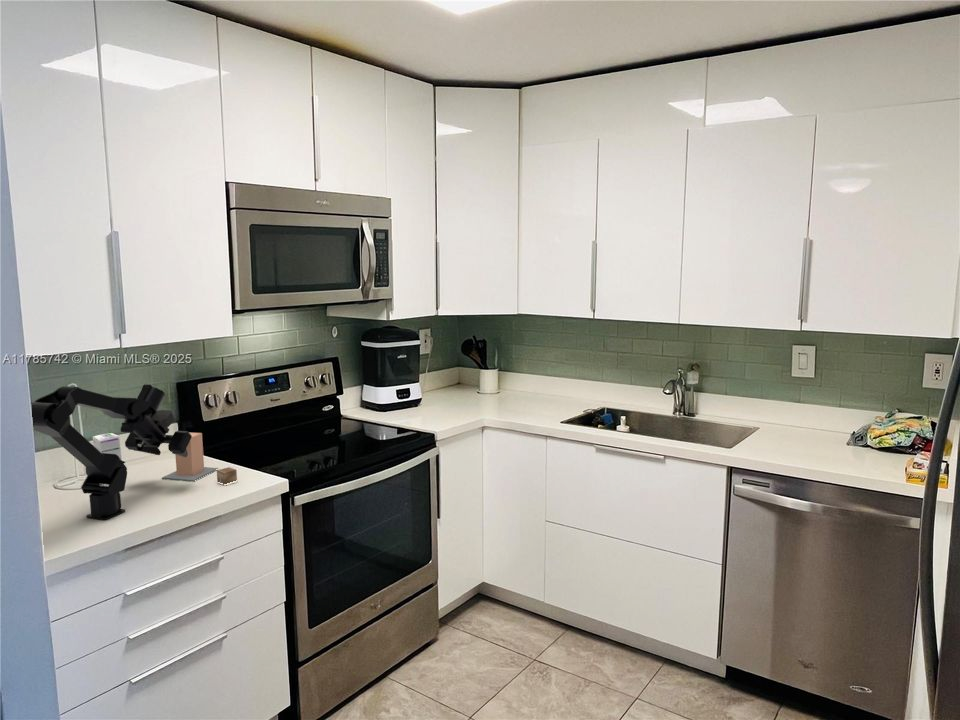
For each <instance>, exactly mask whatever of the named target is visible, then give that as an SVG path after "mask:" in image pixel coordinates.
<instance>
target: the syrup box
mask: <svg viewBox="0 0 960 720" xmlns="http://www.w3.org/2000/svg"><path fill="white" fill-rule="evenodd" d="M120 439H121V438H120V436H119V435H117V434H115V433H113V432H109V433H108V432H106V433H101V434H98V435H94V436H92V445H93V446H94V447H95V448H97V449H98V450H99V451H100V452H101V453H108V454H116V455H117V456H119V458H120V459H121V460H122V451H121V441H120ZM122 461H123V460H122ZM100 486H109V485H108V484H100Z"/></svg>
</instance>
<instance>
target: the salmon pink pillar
mask: <svg viewBox="0 0 960 720" xmlns="http://www.w3.org/2000/svg"><path fill="white" fill-rule="evenodd" d="M188 432H189V431H188ZM189 433H190V434H191V436H192V438H191V440H190V442H189V444H188V446H187V448H186V449H187V453H188V455H187V457H183V456H179V455H176V454H174V455H175V467H176V468H175V469H176V470H175V471H177V475H185V476H194V475H196V474H198V473H200V472H202V471H204V467H205V463H204V462H205V461H204V446H203V443H204V442H203V433H202V432H189Z"/></svg>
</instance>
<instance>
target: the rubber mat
mask: <svg viewBox="0 0 960 720" xmlns="http://www.w3.org/2000/svg"><path fill="white" fill-rule="evenodd" d="M216 469H218V470H219V467H207V466H204V471H202V472H200V473H198V474H196V475H194V476H185V475H177V470H175V471H173V472H171V473H169V474H166V475H164V476H162V477H161V480H167V479H170V480H169V481H179V480H183V481H182V482H191V481H194V482H196V481H198V480H200V479H202V478H204V477H206V476H208V475H210V474H212V473H214V472H216V471H217V470H216ZM215 470H216V471H215ZM213 471H214V472H213ZM211 472H212V473H211ZM209 473H210V474H209ZM207 474H208V475H207ZM205 475H206V476H205ZM203 476H204V477H203ZM201 477H202V478H201ZM199 478H200V479H199ZM197 479H198V480H197ZM195 480H196V481H195Z"/></svg>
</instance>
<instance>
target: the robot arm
mask: <svg viewBox="0 0 960 720" xmlns="http://www.w3.org/2000/svg"><path fill="white" fill-rule="evenodd" d="M165 396H166V393H165V392H164V391H163V390H161V389H159V388H157V387H155V386H152V385H151V384H145V383H144V384H143V385H142V387H141V390H140V391H139V394H138V395H137V398H136V397H123V396H122V397H121V396H109V395H106V394H102V393H97V392H95V391H92V390H87V389H83V388H81V387H79V386H70V385H69V386H67V385H64V386H63V385H62V386H61V387H58V388H57V389H56V390H54V391H53V392H51V393H48V394H46V395H44V396H41V397H39V398H37V399H36V400H34V401H33V402H30V403H31V404H32V417H33V427H34V430H33V431H36V432H37V433H41V434H43V435H45V436H48V437H51V438H52V439H53V440H54V441H55V442H57V444H59V445H60V446H61V447H62V448H63V449H64V450H66V451H67V452H68V453H69V454H70V455H71V456H73V457H74V458H75V459H76V460H78V462H79V463H81V464H82V465H83V466H84V467H85V475H86V478H85V479H84V481H83V482H82V485H81V486H80V489H81V490H82V493H83V494H89V505H90V513H89V514H87V515H86V518H89V519H96V520H101V521H107V520H109V519H112V518H113V517H116V516H118V515H120V514H123V513H125V512H126V509H123V508H122V500H121V499H122V497H121V492H123V491H125V487H126V484H127V478H128V467H127V466H126V461H124V460H121V459H120V458H119V456H117V455H116V454H108V453H101V452H100V451H99V450H98V449H97V448H95V447H94V446H93V443H91V442H90V441H89V440H88V439H86V437H84V436H83V435H82V433H81V432H80V431H78V430H77V429H76V428H75V427H74V426H73V425H72V424H71V418H70V416H72V414H73V413H74V412H75V409H76V407H77V406H81V407H83V408H89V409H93V410H96V411H97V410H98V411H101V412H102V413H103V414H104V415H105V416H108V417H109V418H112V419H120V420H121V419H122V420H123V422H122V423H121V426H120V432H121V433H128V436H127V438H126V440H125V441H124V447H125V448H127V449H128V450H129V451H134V452H140V453H145V454H149V455H150V454H151V455H156V456H160V455H161V453H162V452H161V450H160V449H159V448H160V446H161V445H162V444H168V445H167V447H168V451H170V452H171V454H173V455H175V454H176V455H179V456H183V457H187V455H188V453H187V449H186V448H187V446H188V444H189V442H190V440H191V438H192V436H191V434H190V433H189V431H187V430H186V431H185V430H177V431H174V433H173V434H169V432H170V428H169V427H170V426H171V425H172V424H173V423H174V422H175V421H176V418H175V416H174V413H173V411H172V410H170V409H169V410H167V409H159V407H160V406H161V404H162V402H163V400H164V397H165ZM158 409H159V410H158ZM100 484H108V485H109V486H102V485H100Z"/></svg>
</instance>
